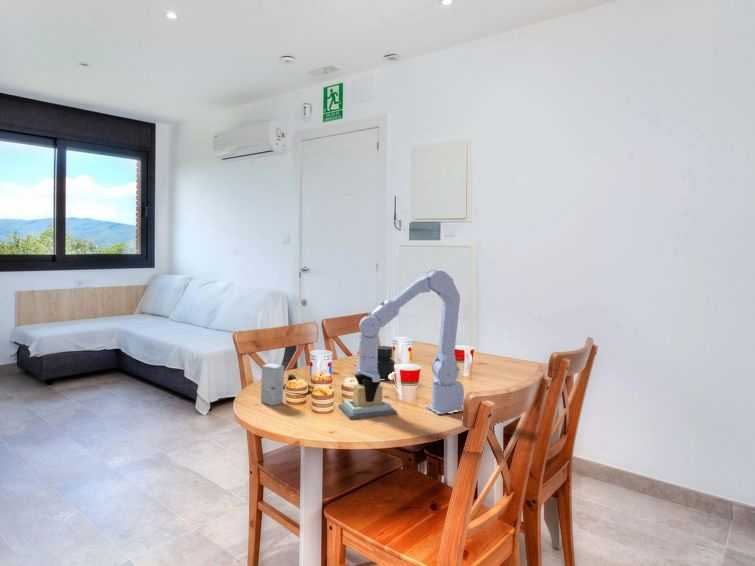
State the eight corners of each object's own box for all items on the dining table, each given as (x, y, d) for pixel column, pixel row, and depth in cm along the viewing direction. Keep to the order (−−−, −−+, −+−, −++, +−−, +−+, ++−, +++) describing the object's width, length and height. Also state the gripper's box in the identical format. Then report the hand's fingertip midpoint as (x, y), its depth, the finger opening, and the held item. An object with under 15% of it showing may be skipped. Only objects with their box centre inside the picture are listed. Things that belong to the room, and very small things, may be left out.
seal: (319, 395, 166) (298, 385, 177) (321, 382, 166) (300, 372, 177) (295, 397, 160) (275, 386, 172) (297, 383, 160) (277, 373, 172)
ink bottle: (399, 377, 187) (400, 347, 186) (386, 382, 180) (387, 351, 179) (379, 373, 193) (380, 344, 192) (366, 377, 186) (366, 347, 185)
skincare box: (260, 402, 152) (260, 365, 152) (269, 399, 156) (270, 362, 156) (274, 406, 149) (275, 368, 149) (284, 402, 153) (284, 365, 153)
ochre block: (353, 404, 148) (353, 385, 147) (377, 401, 150) (377, 383, 150) (357, 408, 144) (357, 388, 143) (381, 405, 147) (382, 386, 146)
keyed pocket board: (382, 403, 155) (382, 395, 155) (396, 413, 145) (396, 405, 145) (338, 407, 149) (338, 399, 149) (349, 419, 139) (350, 411, 139)
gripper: (348, 351, 151) (347, 393, 152) (364, 361, 138) (363, 407, 139) (368, 350, 154) (367, 391, 155) (386, 360, 141) (385, 405, 142)
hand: (367, 399), depth 147 cm, fingers closed on ochre block, 4 cm apart
